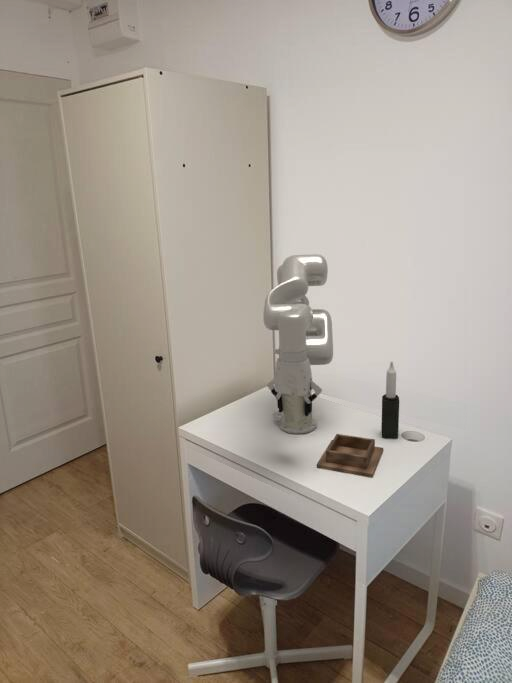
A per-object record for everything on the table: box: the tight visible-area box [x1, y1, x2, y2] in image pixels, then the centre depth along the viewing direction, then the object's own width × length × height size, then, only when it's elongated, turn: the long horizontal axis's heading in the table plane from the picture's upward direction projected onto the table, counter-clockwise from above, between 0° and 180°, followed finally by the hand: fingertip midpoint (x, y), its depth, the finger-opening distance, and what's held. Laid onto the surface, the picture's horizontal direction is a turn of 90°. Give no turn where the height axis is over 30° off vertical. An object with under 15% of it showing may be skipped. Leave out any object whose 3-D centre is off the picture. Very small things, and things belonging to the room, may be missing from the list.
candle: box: [380, 360, 400, 440], centre depth 158 cm, size 5×5×25 cm
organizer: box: [316, 433, 384, 478], centre depth 147 cm, size 16×16×4 cm
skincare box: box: [282, 389, 307, 429], centre depth 144 cm, size 6×4×12 cm
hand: (294, 412), depth 145 cm, fingers closed on skincare box, 7 cm apart
